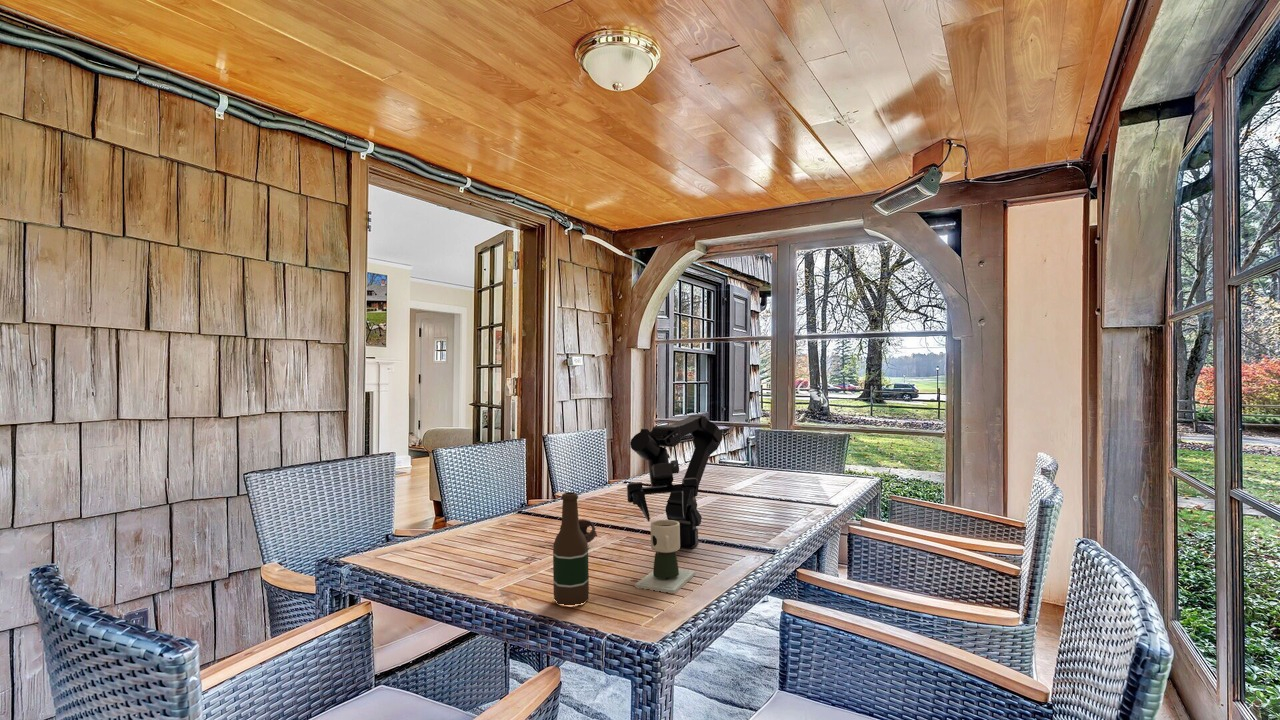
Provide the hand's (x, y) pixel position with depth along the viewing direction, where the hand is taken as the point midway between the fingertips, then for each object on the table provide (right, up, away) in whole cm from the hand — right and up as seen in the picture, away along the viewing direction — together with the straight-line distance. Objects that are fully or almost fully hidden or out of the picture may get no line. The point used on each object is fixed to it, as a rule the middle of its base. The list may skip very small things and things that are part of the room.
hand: (666, 519), depth 151 cm
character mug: (-1, -12, -7) cm, 14 cm away
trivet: (-1, -13, -7) cm, 15 cm away
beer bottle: (-22, -13, -19) cm, 32 cm away
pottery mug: (-25, -15, +26) cm, 39 cm away
